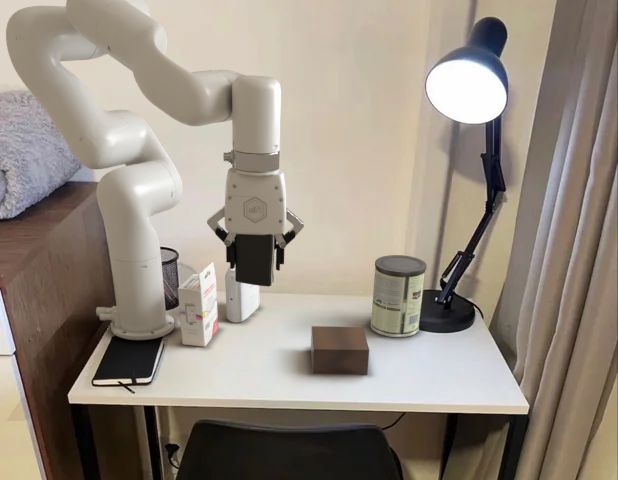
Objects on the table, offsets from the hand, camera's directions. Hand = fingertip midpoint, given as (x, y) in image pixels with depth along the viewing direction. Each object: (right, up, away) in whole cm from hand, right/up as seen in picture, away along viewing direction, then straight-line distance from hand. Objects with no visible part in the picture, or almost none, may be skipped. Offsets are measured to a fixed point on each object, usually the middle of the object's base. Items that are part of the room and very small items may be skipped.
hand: (255, 266), depth 116 cm
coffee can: (+27, -8, +24) cm, 37 cm away
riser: (+15, -16, +10) cm, 24 cm away
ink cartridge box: (-12, -11, +17) cm, 24 cm away
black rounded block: (0, -3, +2) cm, 3 cm away
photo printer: (-5, -5, +28) cm, 29 cm away
